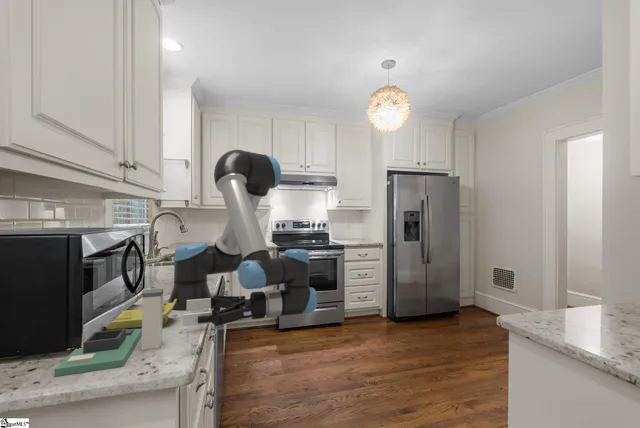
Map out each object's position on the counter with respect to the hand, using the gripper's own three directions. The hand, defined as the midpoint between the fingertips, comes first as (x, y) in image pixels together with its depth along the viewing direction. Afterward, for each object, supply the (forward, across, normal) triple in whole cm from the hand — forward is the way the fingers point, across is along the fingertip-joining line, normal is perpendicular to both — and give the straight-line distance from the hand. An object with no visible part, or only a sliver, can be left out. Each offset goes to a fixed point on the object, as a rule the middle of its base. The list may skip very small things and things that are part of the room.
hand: (184, 312), depth 77 cm
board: (+18, +1, -8) cm, 19 cm away
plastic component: (+13, +20, -8) cm, 25 cm away
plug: (+8, 0, -8) cm, 11 cm away
